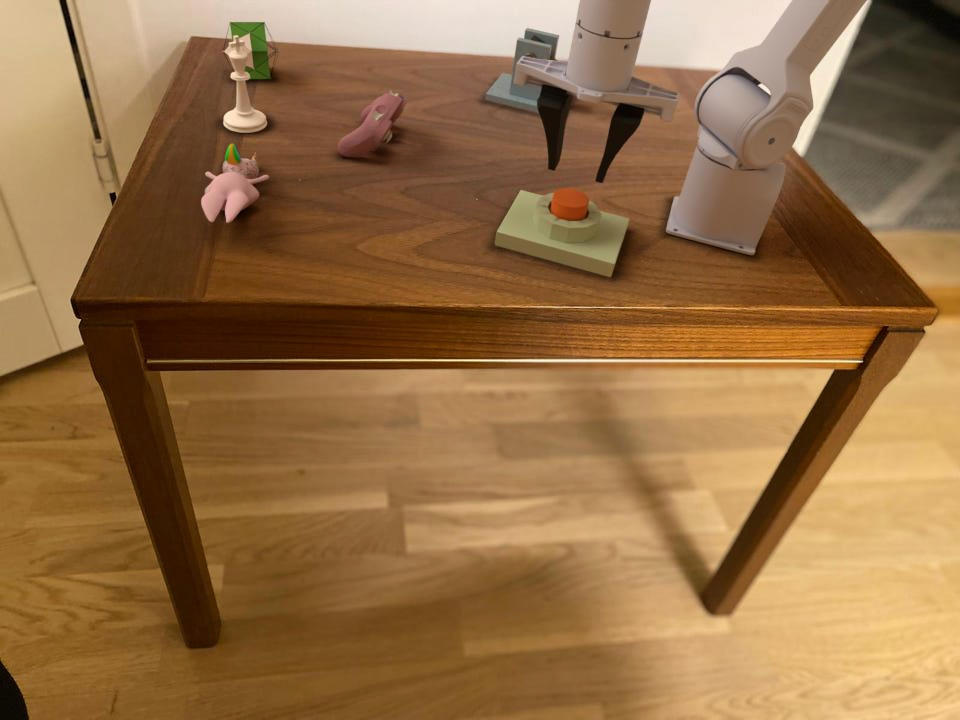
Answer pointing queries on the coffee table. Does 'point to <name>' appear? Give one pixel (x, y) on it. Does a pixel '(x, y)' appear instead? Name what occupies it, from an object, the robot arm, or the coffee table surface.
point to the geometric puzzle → (253, 48)
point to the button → (569, 204)
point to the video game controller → (373, 125)
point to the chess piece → (242, 96)
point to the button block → (562, 234)
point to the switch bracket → (504, 85)
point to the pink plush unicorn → (232, 186)
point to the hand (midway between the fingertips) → (577, 171)
